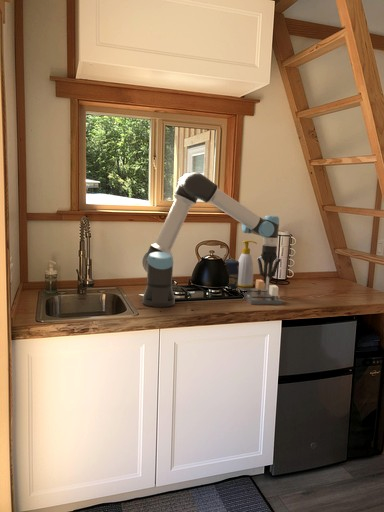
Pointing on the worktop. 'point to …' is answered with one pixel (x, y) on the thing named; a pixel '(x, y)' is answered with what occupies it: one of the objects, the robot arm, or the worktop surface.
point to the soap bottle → (245, 267)
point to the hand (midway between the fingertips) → (266, 289)
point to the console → (260, 296)
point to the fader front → (273, 290)
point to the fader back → (259, 284)
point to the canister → (232, 272)
